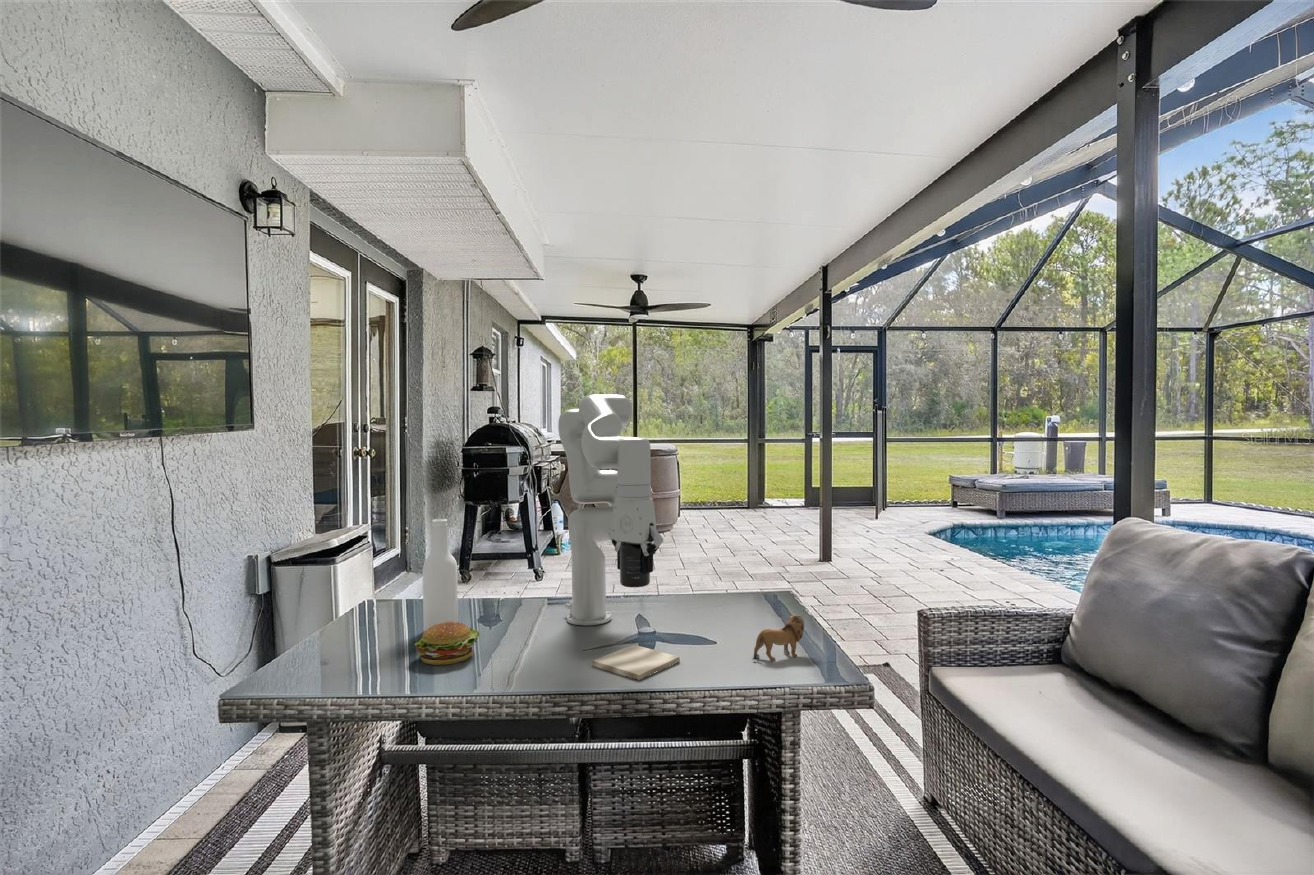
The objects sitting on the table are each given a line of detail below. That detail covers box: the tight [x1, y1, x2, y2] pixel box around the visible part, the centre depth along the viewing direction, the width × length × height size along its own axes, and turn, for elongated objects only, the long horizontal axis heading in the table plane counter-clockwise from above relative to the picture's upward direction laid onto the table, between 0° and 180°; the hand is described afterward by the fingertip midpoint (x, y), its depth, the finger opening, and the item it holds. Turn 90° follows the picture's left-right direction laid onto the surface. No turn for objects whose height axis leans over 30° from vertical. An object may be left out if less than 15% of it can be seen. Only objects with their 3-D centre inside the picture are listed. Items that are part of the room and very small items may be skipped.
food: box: [414, 621, 480, 666], centre depth 150 cm, size 14×14×8 cm
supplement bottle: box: [619, 543, 651, 588], centre depth 144 cm, size 7×7×12 cm
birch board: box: [592, 644, 680, 681], centre depth 144 cm, size 14×14×1 cm
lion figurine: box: [752, 614, 805, 661], centre depth 148 cm, size 15×5×9 cm, turn 118°
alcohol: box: [422, 518, 459, 632], centre depth 171 cm, size 9×9×30 cm
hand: (635, 570), depth 144 cm, fingers closed on supplement bottle, 6 cm apart
